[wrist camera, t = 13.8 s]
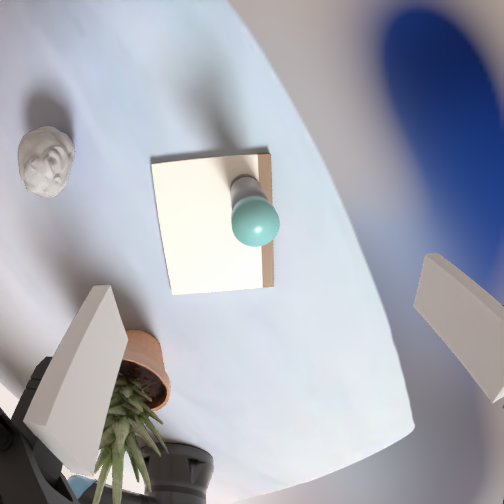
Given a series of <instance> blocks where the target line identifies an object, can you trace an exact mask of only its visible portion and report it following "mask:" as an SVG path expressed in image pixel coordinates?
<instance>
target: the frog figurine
mask: <svg viewBox="0 0 504 504" xmlns="http://www.w3.org/2000/svg"><path fill="white" fill-rule="evenodd" d="M74 149H75V147H74V145H73V142H72V141H71V140H70V138H69V136H68V135H67V134H66V133H62V132H60V131H59V130H57V129H56V128H55V127H51V126H43V127H39V128H38V129H36V130H34V131H30V132H28V133H26V134H25V135H24V136H23V138H22V139H21V141H20V144H19V148H18V165H19V173H20V176H21V179H22V180H23V181H24V183H25V186H26V189H27V190H28V191H29V192H31V193H35V194H37V195H39V196H41V197H46V198H52V197H55V196H56V195H57V194H58V193H59V192H60V191H61V190H63V188H64V187H65V186H66V184H67V182H68V177H69V174H70V169H71V167H72V165H73V162H74V156H75V150H74Z"/></svg>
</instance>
